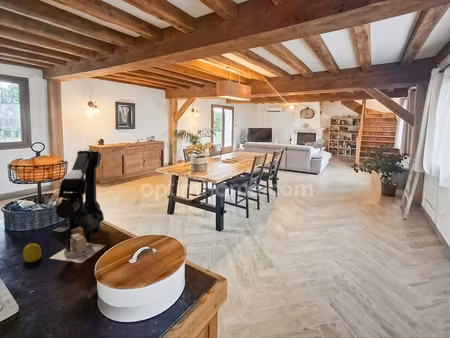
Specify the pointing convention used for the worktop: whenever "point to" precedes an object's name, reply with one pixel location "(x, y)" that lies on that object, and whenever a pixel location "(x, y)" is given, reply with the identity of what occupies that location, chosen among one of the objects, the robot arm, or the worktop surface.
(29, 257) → the lemon
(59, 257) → the dial plate
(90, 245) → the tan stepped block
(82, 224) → the robot arm
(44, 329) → the worktop surface
